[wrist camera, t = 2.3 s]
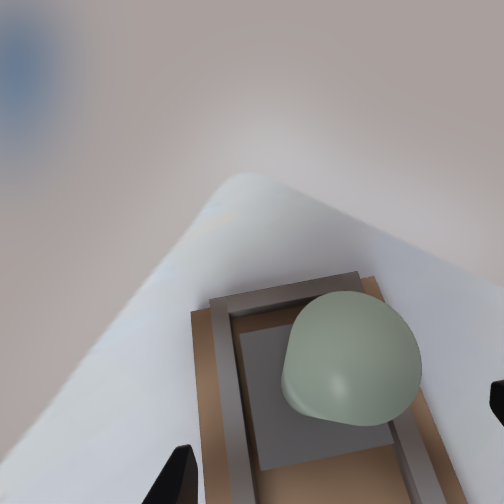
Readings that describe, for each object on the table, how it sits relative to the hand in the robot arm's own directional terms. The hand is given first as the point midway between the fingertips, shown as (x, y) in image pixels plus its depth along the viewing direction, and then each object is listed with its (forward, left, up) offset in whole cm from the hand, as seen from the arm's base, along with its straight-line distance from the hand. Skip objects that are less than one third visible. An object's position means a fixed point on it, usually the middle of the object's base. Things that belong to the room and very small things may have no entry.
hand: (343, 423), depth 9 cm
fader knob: (+1, -1, -8) cm, 8 cm away
